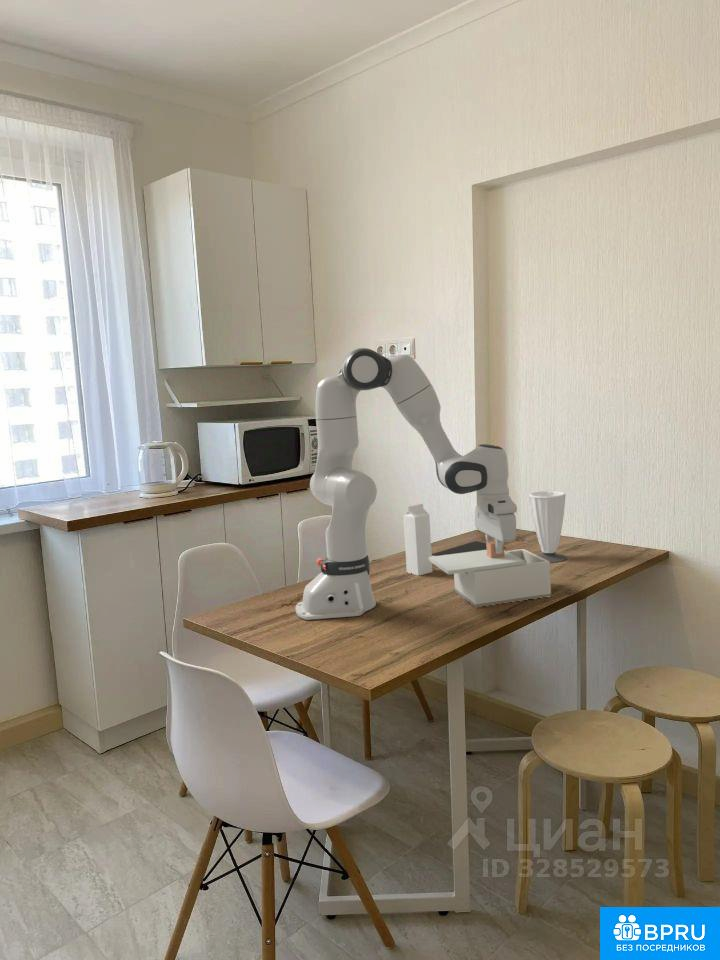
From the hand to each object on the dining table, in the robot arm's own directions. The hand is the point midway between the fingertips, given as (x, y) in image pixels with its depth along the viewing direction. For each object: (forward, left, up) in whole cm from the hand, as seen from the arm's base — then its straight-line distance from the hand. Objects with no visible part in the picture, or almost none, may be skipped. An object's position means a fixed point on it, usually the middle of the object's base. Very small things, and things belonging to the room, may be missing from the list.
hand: (495, 551), depth 199 cm
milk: (-13, +32, -13) cm, 37 cm away
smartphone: (+10, +48, -13) cm, 50 cm away
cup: (+31, +29, -13) cm, 44 cm away
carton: (+1, 0, -13) cm, 13 cm away
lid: (-6, 0, -2) cm, 6 cm away
